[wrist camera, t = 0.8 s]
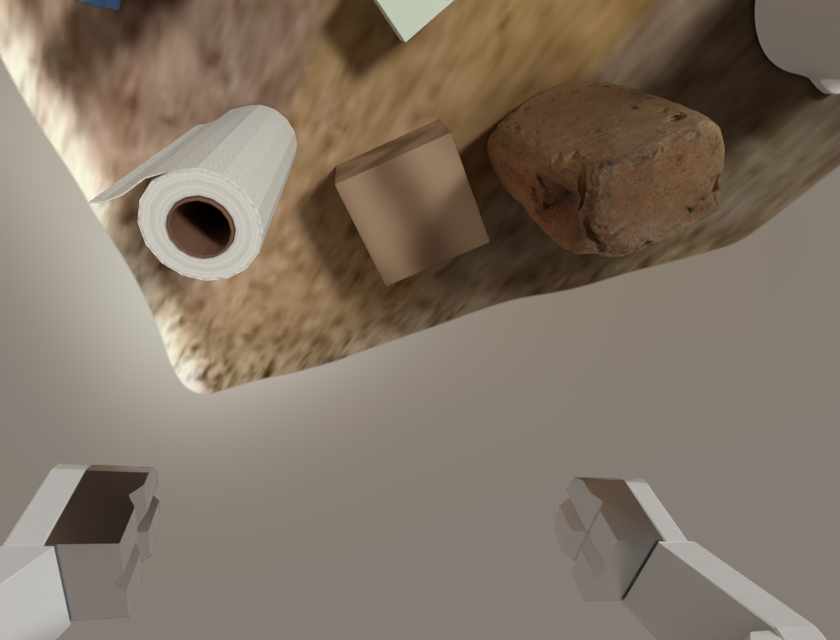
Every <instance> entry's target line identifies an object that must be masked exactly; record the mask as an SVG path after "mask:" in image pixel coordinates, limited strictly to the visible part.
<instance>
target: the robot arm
mask: <svg viewBox="0 0 840 640" xmlns="http://www.w3.org/2000/svg"><path fill="white" fill-rule="evenodd" d="M755 26H756V32H757V36H758V39H759V42H760V45H761V47H762V49H763V51H764V53H765V54H766V56H767V57H768V58H769V59H770V60H771V61H772V62H773V63H774V64H775V65H776V66H778V67H779V68H781V69H783V70H785V71H787V72H790V73H794V74H798V75H802V76H805V77H807V78H809V79H810V80H811V82H812V83H813V84H814V85H815V86H816V87H817V88H818V89H819V90H820V91H821V92H823V93H825V94H839V93H840V0H755ZM157 484H158V480H157V471H156V469H155V468H150V467H129V466H107V465H74V464H58V465H57V466H56V467H54V468H53V469H52V470H51V471H50V472H49V474H48V475H47V477H46V478H45V480H44V481H43V483H42V484H41V486H40V488H39V489H38V491H37V492H36V494H35V495H34V497H33V499H32V500H31V502H30V503H29V505H28V506H27V508H26V509H25V511H24V512H23V514H22V516H21V517H20V519H19V520H18V522H17V523H16V525H15V526H14V528H13V530H12V531H11V533H10V534H9V536H8V538H7V539H6V541H5V542H4V544H3V545H2V546H0V640H55V639H56V638H58V637H59V636H60V635H61V634H62V633H63V631H64V630H66V629H67V628H68V627H69V626H70V621H81V620H98V619H114V618H129V616H130V613H131V610H132V607H133V604H134V602H135V599H136V596H137V593H138V590H139V587H140V584H141V582H142V572H141V563H143V562H144V561H145V560H146V559H147V558H149V557H150V556H151V552H152V549H153V546H154V543H155V540H156V534H157V530H158V525H159V513H160V507H159V500H157V499H156V498H155V497H154V496H153V495H154V492H155V489H156V487H157ZM566 491H567V493H568V495H569V499H567V500H566V501H565V502H563V503H562V504H561V505H559V508H558V511H557V513H556V516H555V532H556V537H557V541H558V543H559V545H560V548H561V550H562V552H563V553H564V554H566V555H567V556H568V557H569V558H570V559H571V560H572V561H573V563H572V567H571V573H572V575H573V577H574V579H575V582H576V584H577V586H578V588H579V591H580V593H581V595H582V597H583V599H584V601H623V603H622V604H623V605H624V606H625V607H626V608H627V609H628V610H629V611H630V612H631V613H632V614H633V615H634V616H635V617H636V618H637V619H638V620H639V621H640V622H641V623H642V624H643V625H644V626H645V628H647V630H648V631H649V632H650V633H651V634H652V635H653V636H654V637H655V638H656V639H657V640H826V639H825V637H824V636H823V635H822V633H821V632H820V631H819V630H818V629H817V627H816V626H814V625H813V624H811V623H810V622H808V621H807V620H806V619H804V618H803V617H801V616H800V615H798V614H797V613H796V612H794V611H793V610H791V609H790V608H788V607H787V606H786V605H784V604H783V603H781V602H780V601H779V600H777V599H776V598H774V597H773V596H771V595H770V594H769V593H767V592H766V591H764V590H763V589H761V588H760V587H758V586H757V585H756V584H754V583H753V582H751V581H750V580H748V579H747V578H746V577H744V576H743V575H741V574H740V573H738V572H737V571H736V570H734V569H733V568H731V567H730V566H729V565H727V564H726V563H724V562H723V561H721V560H720V559H719V558H717V557H716V556H714V555H713V554H711V553H710V552H709V551H707V550H706V549H704V548H703V547H701V546H700V545H699V544H697V543H696V542H692V541H690V542H689V541H687V540H686V538H685V537H684V536H683V534H682V532H681V531H680V530H679V528H678V527H677V525H676V524H675V523H674V521H673V520H672V518H671V517H670V516H669V514H668V513H667V511H666V510H665V508H664V507H663V506H662V504H661V503H660V501H659V500H658V498H657V497H656V496H655V494H654V493H653V491H652V490H651V489H650V487H649V486H648V484H647V483H646V482H645V481H643V480H642V479H640V478H593V477H592V478H590V477H588V478H587V477H575V478H574V479H573V480H572V481H570V483H569V486H568V487H567V490H566Z"/></svg>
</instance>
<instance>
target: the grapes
mask: <svg viewBox="0 0 840 640" xmlns="http://www.w3.org/2000/svg"><path fill="white" fill-rule="evenodd" d="M77 1H79V2H82V3H86V4H89V5H92V6H97V7H103V8H104V7H105V8H109V9H114V10H119V8H120V4H121V1H122V0H77Z"/></svg>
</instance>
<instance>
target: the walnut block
mask: <svg viewBox="0 0 840 640" xmlns="http://www.w3.org/2000/svg"><path fill="white" fill-rule="evenodd" d="M335 186H336V188H337V190H338V192H339V194H340V196H341V198H342V200H343V202H344V204H345V206H346V208H347V210H348V212H349V214H350V216H351V218H352V220H353V222H354V224H355V226H356V228H357V230H358V232H359V234H360V236H361V238H362V240H363V242H364V244H365V246H366V248H367V250H368V252H369V254H370V256H371V258H372V260H373V262H374V264H375V266H376V267H377V269H378V271H379V273H380V275H381V277H382V279H383V281H384V283H385V285H386V286H388V285H390V284H393V283H395V282H397V281H400V280H402V279H404V278H407V277H409V276H412V275H414V274H416V273H419V272H421V271H423V270H426V269H428V268H430V267H433V266H435V265H437V264H440V263H442V262H444V261H447V260H449V259H452V258H454V257H456V256H459V255H461V254H463V253H466V252H468V251H470V250H473V249H475V248H477V247H480V246H482V245H485V244H487V243H489V242H490V240H489V238H488V235H487V232H486V229H485V226H484V224H483V221H482V218H481V215H480V212H479V210H478V207H477V204H476V201H475V198H474V196H473V193H472V190H471V187H470V184H469V182H468V179H467V176H466V173H465V170H464V168H463V165H462V162H461V159H460V156H459V154H458V151H457V148H456V145H455V142H454V140H453V137H452V134H451V132H450V131H449V130H448V129H447V128H446V126H445V125H444V124H443V123H442V122H441V121H440V120H437V121H435V122H432V123H430V124H428V125H426V126H424V127H421V128H419V129H417V130H415V131H413V132H410V133H408V134H406V135H404V136H401V137H399V138H397V139H395V140H393V141H390V142H388V143H386V144H384V145H382V146H379V147H377V148H375V149H373V150H371V151H368V152H366V153H364V154H362V155H360V156H357V157H355V158H353V159H351V160H349V161H346V162H344V163H342V164H340V165H338V166H336V175H335Z"/></svg>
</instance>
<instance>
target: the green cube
mask: <svg viewBox="0 0 840 640" xmlns="http://www.w3.org/2000/svg"><path fill="white" fill-rule="evenodd" d="M373 1H374V3H375V4H376V5H377V7H378V8H379V10H380V11H381V13H382V14H383V16H384V17H385V19H386V20H387V22H388V23H389V25H390V26H391V27H392V29H393V30H394V32H395V33H396V35H397V36H398V38H399V39H400V40H401V41H404V42H407V41H408V40H409V39H410V38H411V37H412V36H414V35H415V34H416V33H417V32H418V31H419V30H420V29H422V28H423V27H424V26H425V25H426V24H427V23H428V22H430V21H431V20H432V19H433V18H434V17H435V16H436V15H437V14H439V13H440V12H441V11H442V10H443V9H444V8H445V7H447V6H448V5H449V4H450V3H451V2H452V1H453V0H373Z"/></svg>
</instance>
